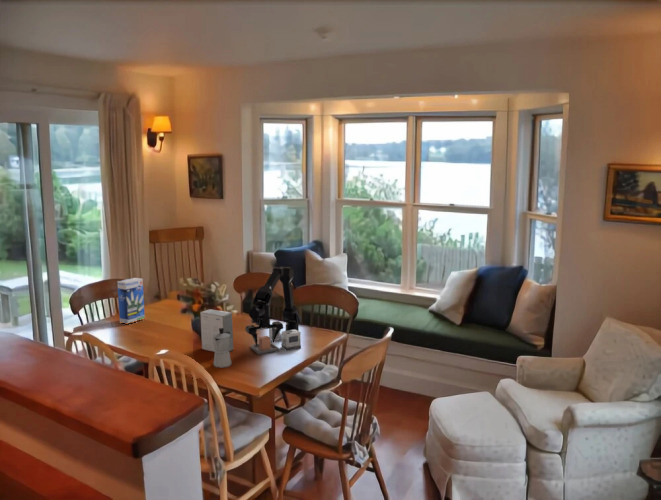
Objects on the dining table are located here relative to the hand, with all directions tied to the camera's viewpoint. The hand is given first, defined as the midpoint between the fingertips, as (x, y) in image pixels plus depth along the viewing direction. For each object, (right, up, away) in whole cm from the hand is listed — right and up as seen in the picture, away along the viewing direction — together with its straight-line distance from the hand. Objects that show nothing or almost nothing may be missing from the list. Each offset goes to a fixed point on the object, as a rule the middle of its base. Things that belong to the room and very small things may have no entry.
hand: (264, 343), depth 291 cm
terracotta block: (0, -3, 0) cm, 3 cm away
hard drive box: (-25, -4, +1) cm, 25 cm away
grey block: (+3, 0, +19) cm, 19 cm away
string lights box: (-86, +5, +50) cm, 99 cm away
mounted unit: (+13, -3, +4) cm, 14 cm away
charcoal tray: (0, -3, +1) cm, 4 cm away
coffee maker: (-18, -7, -18) cm, 27 cm away
